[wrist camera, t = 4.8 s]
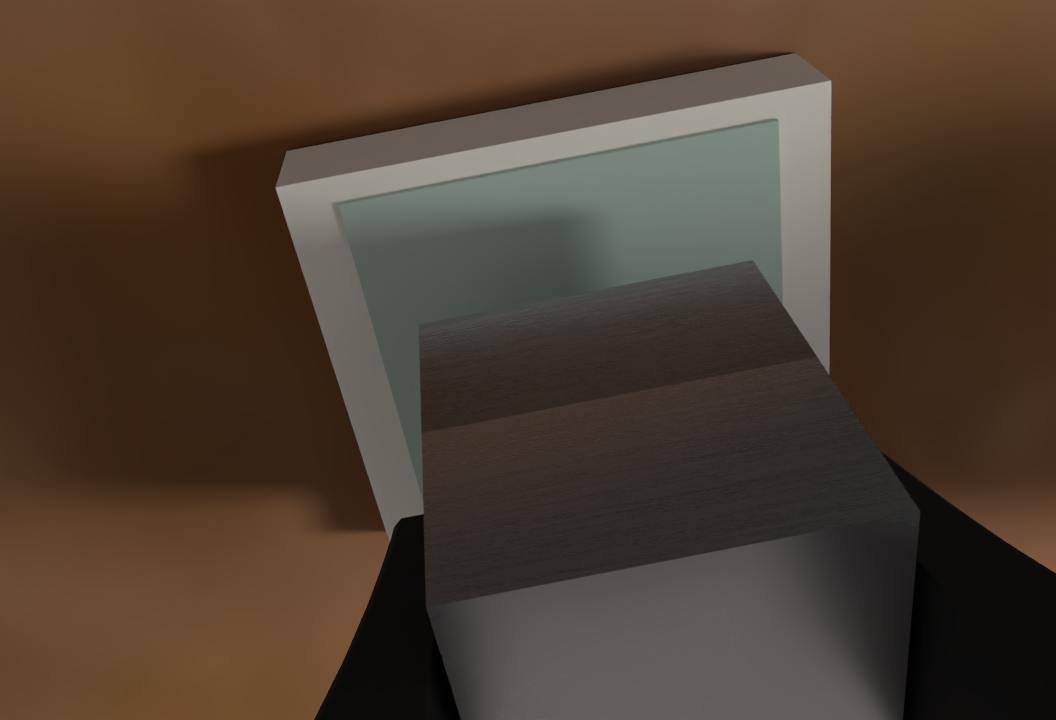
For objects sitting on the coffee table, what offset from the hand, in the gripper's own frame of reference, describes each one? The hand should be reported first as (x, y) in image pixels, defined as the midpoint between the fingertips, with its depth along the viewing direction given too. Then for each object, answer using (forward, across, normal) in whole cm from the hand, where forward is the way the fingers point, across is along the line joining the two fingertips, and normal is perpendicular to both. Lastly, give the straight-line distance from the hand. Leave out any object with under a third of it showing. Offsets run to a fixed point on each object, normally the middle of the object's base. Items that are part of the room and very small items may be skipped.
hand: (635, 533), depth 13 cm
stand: (+6, 0, 0) cm, 6 cm away
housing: (+2, 0, 0) cm, 2 cm away
